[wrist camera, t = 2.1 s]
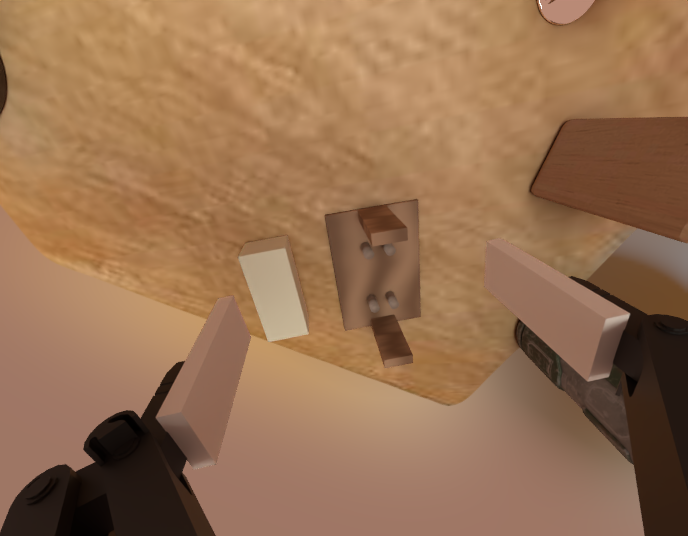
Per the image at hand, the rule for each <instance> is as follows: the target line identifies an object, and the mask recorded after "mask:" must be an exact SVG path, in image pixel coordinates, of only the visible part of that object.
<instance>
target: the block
mask: <svg viewBox="0 0 688 536" xmlns="http://www.w3.org/2000/svg"><path fill="white" fill-rule="evenodd" d="M531 192H532V193H533V194H534V195H535V196H537V197H540V198H543V199H547V200H550V201H553V202H556V203H559V204H563V205H566V206H569V207H572V208H575V209H579V210H582V211H585V212H588V213H591V214H594V215H598V216H601V217H604V218H607V219H610V220H614V221H617V222H620V223H623V224H626V225H630V226H633V227H636V228H639V229H642V230H646V231H649V232H652V233H655V234H658V235H662V236H665V237H668V238H671V239H674V240H677V241H681V242H684V243H688V117H657V118H608V119H574V120H569V121H567V122H566V123H565V124H564V125H563V126H562V128H561V130H560V132H559V134H558V136H557V138H556V140H555V142H554V144H553V146H552V148H551V150H550V152H549V154H548V156H547V158H546V160H545V162H544V164H543V166H542V168H541V170H540V172H539V174H538V176H537V178H536V180H535V182H534V184H533V186H532V189H531Z"/></svg>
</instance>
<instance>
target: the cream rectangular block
mask: <svg viewBox="0 0 688 536" xmlns="http://www.w3.org/2000/svg"><path fill="white" fill-rule="evenodd" d="M238 259H239V262H240V265H241V267H242V270H243V273H244V276H245V278H246V281H247V284H248V287H249V289H250V292H251V295H252V298H253V301H254V303H255V306H256V309H257V312H258V314H259V317H260V320H261V323H262V325H263V328H264V331H265V334H266V336H267V339H268V342H271V341H276V340H281V339H287V338H292V337H297V336H302V335H307V334H309V315H308V311H307V307H306V303H305V299H304V296H303V292H302V288H301V284H300V280H299V277H298V273H297V269H296V265H295V261H294V258H293V254H292V250H291V246H290V242H289V239H288V235H285V236H280V237H275V238H269V239H264V240H259V241H253V242H248V243H245V244H244V246H243V248H242V250H241V252H240V254H239V255H238Z"/></svg>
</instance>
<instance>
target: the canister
mask: <svg viewBox="0 0 688 536" xmlns="http://www.w3.org/2000/svg"><path fill="white" fill-rule="evenodd" d="M516 335H517V341H518V344H519V346H520V348H521V349H522V350H523V351H524V352H525V354H526V355H527V356H528V357H529V358H530V359H531V360H532V361H533V362H534V363H535V365H536V366H538V368H539V369H540V370H541V371H542V372H543V373H544V374H545V375H546V376H547V377H548V378H549V379H550V380H551V381H552V382H553V383H554V384H555V385H556V386H557V387H558V388H559V389H561V390H563V391H565V392H566V393H567V394H568V395H569V396H570V397H571V398H572V399H573V400H574V401H575V402H576V403H577V404H578V405H579V406H580V407H581V408H582V410H583V413H584V414H585V416H586V417H587V418H588V419H589V420H590V421H591V422H592V423H593V424H594V425H595V426H596V427H597V428H598V430H599V431H600V432H601V433H602V434H603V435H604V436H605V437H606V438H607V439H608V440H609V441H610V442H611V443H612V444H613V445H614V446H615V447H616V449H617V450H618V451H619V452H620V453H621V454H622V455H623V456H624V457H625V458H626V459H627V460H628V461H629V462H630V463H632V464H633V465H634V462H633V456H632V449H631V443H630V436H629V430H628V423H627V417H626V410H625V404H624V397H623V391H622V392H621V394H620V396H617V395H615V394H616V390H617V387H618V385H619V382H620V379H621V376H622V374H623V371H622V370H621V369H619V368H618V367H617V366H615V365H614V364H613V366H612V369H611V372H610V375H609V377H607V378H602V379H598V380H593V381H589V382H587V381H586V380H585V379H584V378H583V377H582V376H581V375H580V374H579V373H578V372H576V371H575V370H574V369H573V368H572V367H571V366H570V365H569V364H568V363H567V362H566V361H564V360H563V359H562V358H561V357H560V356H559V355H558V354H557V353H556V352H555V351H554V350H553V349H551V348H550V347H549V346H548V345H547V344H546V343H545V342H544V341H543V340H542V339H541V338H539V337H538V336H537V335H536V334H535V333H534V332H533V331H532V330H531V329H530V328H529V327H527V326H526V325H525V324H524V323H523V322H522V321H519V323H518V326H517V332H516Z"/></svg>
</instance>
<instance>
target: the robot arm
mask: <svg viewBox="0 0 688 536" xmlns="http://www.w3.org/2000/svg"><path fill="white" fill-rule="evenodd" d="M5 96H6V80H5V74H4V69H3V65H2V62H1V59H0V112H1V110H2V108H3V105H4V102H5ZM484 287H485V288H486V289H487V290H488V291H489V292H490V293H492V294H493V295H494V296H495V297H496V298H497V299H498V300H499V301H500V302H501V303H502V304H504V305H505V306H506V307H507V308H508V309H509V310H510V311H511V312H512V313H513V314H514V315H516V316H517V317H518V318H519V319H520V320H521V321H522V322H523V323H524V324H525V325H526V326H527V327H529V328H530V329H531V330H532V331H533V332H534V333H535V334H536V335H537V336H538V337H539V338H541V339H542V340H543V341H544V342H545V343H546V344H547V345H548V346H549V347H550V348H551V349H553V350H554V351H555V352H556V353H557V354H558V355H559V356H560V357H561V358H562V359H563V360H564V361H566V362H567V363H568V364H569V365H570V366H571V367H572V368H573V369H574V370H575V371H576V372H578V373H579V374H580V375H581V376H582V377H583V378H584V379H585V380H586V381H587V382H589V381H593V380H598V379H602V378H607V377H609V375H610V372H611V369H612V366H613V364H614V365H615V366H617V367H618V368H619V369H621V370H622V371H623V374H622V376H621V379H620V382H619V385H618V387H617V390H616V394H615V395H617V396H620V394H621V392H622V391H623V397H624V404H625V410H626V417H627V423H628V430H629V436H630V443H631V449H632V456H633V462H634V468H635V474H636V481H637V488H638V495H639V501H640V508H641V514H642V521H643V526H644V534H645V536H688V321H686V320H684V319H681V318H678V317H674V316H669V315H660V314H654V315H647V314H645V313H644V312H642V311H640V310H638V309H636V308H635V307H633V306H631V305H629V304H628V303H625V302H624V301H622V300H620V299H618V298H617V297H615V296H613V295H610V293H608V292H606V291H604V290H600V288H599V287H597V286H595V285H594V284H592V283H590V282H588V281H585V280H582V279H579V278H576V277H573V276H571V277H567V276H565V275H563V274H562V273H560V272H558V271H557V270H555V269H553V268H551V267H550V266H548V265H546V264H545V263H543V262H541V261H539V260H538V259H536V258H534V257H533V256H531V255H529V254H528V253H526V252H524V251H522V250H521V249H519V248H517V247H516V246H514V245H512V244H510V243H509V242H507V241H505V240H504V239H502V238H499V239H494V240H489V241H486V261H485V281H484ZM250 339H251V336H250V334H249V331H248V329H247V326H246V324H245V322H244V319H243V317H242V315H241V312H240V310H239V308H238V305H237V303H236V301H235V298H234V296H233V295H232V296H227V297H222V298H218V300H217V302H216V303H215V305H214V307H213V309H212V311H211V313H210V315H209V317H208V319H207V321H206V323H205V324H204V326H203V328H202V330H201V332H200V334H199V336H198V338H197V340H196V342H195V343H194V345H193V347H192V349H191V351H190V353H189V355H188V357H187V359H186V361H182V362H178V363H176V364H175V365H174V366H173V367H172V368H171V369H170V370H169V371H168V372H167V374H166V375H165V377H164V379H163V380H162V382H161V384H160V387H158V389H157V391H156V393H155V396H153V398H152V399H151V401H150V403H149V405H148V406H147V408H146V410H145V412H144V413H143V415H142V417H141V419H140V418H139V417H138V415H137V414H136V413H135V412H134V411H128V410H126V411H123V412H119V413H116V414H115V415H113V416H111V417H109V418H108V419H106V420H105V421H103V422H102V423H101V424H99V425H98V426H97V427H96V428H95V429H94V430H93V432H92V433H90V435H89V436H88V438H87V440H86V441H85V444H84V451H85V452H86V453H87V454H88V455H89V456H90V457H91V458H92V459H93V460H94V461H95V463H93V464H91V465H88V466H86V467H84V468H82V469H80V470H78V471H76V472H75V471H74V470H72V469H71V468H70V467H69V466H67V465H66V464H65V465H57V466H55V467H53V468H51V469H48V470H46V471H45V472H43V473H42V474H40V475H39V476H37V477H36V478H35V479H33V480H32V481H31V482H30V483H29V484H28V485H26V486H25V488H24V489H23V490H22V491H21V492H20V493H19V494H18V495H17V497H16V498H15V500H14V502H13V503H12V505H11V507H10V509H9V512H8V514H7V516H6V519H5V521H4V524H3V526H2V529H1V532H0V536H216V535H215V534H214V532H213V530H212V528H211V526H210V524H209V522H208V520H207V518H206V516H205V514H204V512H203V510H202V508H201V506H200V504H199V502H198V500H197V498H196V496H195V494H194V492H193V490H192V488H191V486H190V484H189V482H188V480H187V478H186V477H185V475H184V474H183V473H182V471H183V468H184V466H185V463H186V460H187V461H188V462H189V463H190V465H191V466H192V467H193V469H198V468H202V467H207V466H211V465H216V463H217V459H218V456H219V452H220V448H221V445H222V441H223V437H224V434H225V430H226V426H227V423H228V419H229V416H230V412H231V408H232V404H233V401H234V397H235V394H236V390H237V386H238V383H239V379H240V375H241V372H242V368H243V365H244V361H245V357H246V353H247V350H248V346H249V343H250Z"/></svg>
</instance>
